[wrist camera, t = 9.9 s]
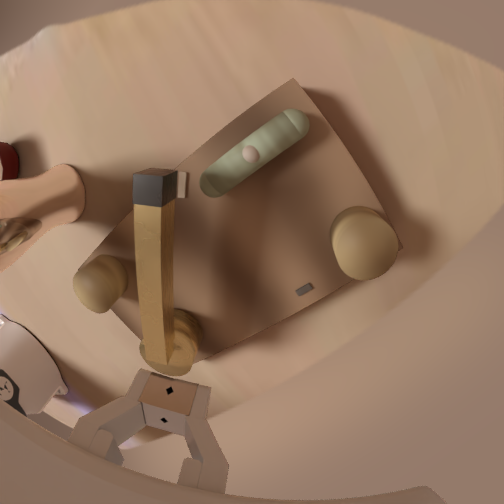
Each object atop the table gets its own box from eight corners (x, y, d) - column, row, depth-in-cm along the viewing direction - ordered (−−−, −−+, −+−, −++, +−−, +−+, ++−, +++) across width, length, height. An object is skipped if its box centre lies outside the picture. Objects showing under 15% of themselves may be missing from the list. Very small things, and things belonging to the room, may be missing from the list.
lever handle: (202, 352, 24) (186, 396, 20) (157, 341, 25) (135, 381, 20) (214, 166, 18) (188, 178, 13) (153, 160, 18) (112, 172, 13)
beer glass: (100, 202, 23) (-28, 278, 10) (64, 237, 25) (-38, 312, 12) (67, 145, 21) (-66, 183, 8) (35, 186, 23) (-73, 237, 10)
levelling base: (183, 352, 29) (166, 393, 24) (94, 257, 26) (59, 285, 20) (390, 233, 21) (418, 265, 16) (292, 85, 18) (295, 67, 12)
